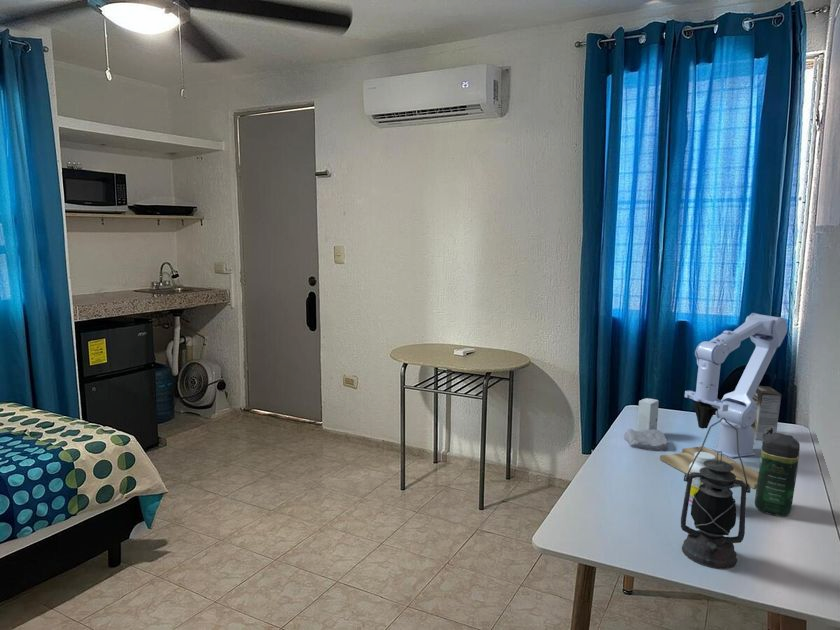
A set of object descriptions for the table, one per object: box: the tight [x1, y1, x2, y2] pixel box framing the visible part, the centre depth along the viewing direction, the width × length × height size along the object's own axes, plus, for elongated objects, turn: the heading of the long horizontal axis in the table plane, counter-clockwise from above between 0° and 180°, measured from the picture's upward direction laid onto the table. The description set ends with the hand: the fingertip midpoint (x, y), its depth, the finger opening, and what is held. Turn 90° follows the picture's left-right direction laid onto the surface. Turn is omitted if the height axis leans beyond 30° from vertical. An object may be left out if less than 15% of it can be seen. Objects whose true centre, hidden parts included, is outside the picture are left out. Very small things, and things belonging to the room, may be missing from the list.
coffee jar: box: [754, 432, 800, 517], centre depth 146 cm, size 10×8×19 cm
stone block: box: [623, 428, 669, 452], centre depth 189 cm, size 12×5×10 cm
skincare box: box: [636, 397, 660, 431], centre depth 196 cm, size 6×4×12 cm
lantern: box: [680, 418, 752, 570], centre depth 124 cm, size 12×11×30 cm
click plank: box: [659, 452, 742, 486], centre depth 169 cm, size 10×20×1 cm, turn 19°
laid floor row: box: [681, 445, 759, 489], centre depth 172 cm, size 8×26×1 cm, turn 19°
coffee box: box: [751, 385, 782, 441], centre depth 198 cm, size 9×6×16 cm
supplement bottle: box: [688, 452, 715, 506], centre depth 148 cm, size 7×7×13 cm
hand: (702, 427), depth 176 cm, fingers closed
